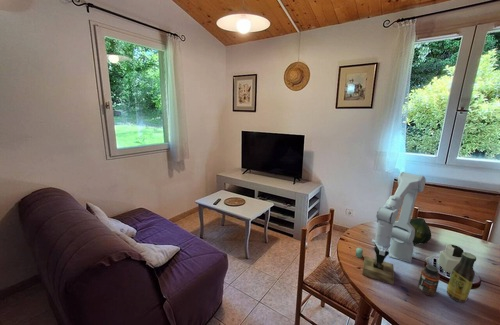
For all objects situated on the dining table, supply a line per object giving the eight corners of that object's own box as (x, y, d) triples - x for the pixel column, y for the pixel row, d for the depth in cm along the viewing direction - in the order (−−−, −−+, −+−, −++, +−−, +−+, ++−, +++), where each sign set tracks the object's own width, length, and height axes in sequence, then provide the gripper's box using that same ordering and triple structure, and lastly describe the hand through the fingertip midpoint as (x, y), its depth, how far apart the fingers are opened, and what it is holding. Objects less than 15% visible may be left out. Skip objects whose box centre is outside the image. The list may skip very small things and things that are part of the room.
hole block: (392, 270, 105) (393, 264, 104) (393, 284, 96) (394, 277, 96) (363, 262, 111) (364, 256, 110) (362, 274, 102) (363, 268, 101)
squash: (392, 231, 129) (417, 218, 120) (397, 222, 140) (419, 210, 132) (412, 253, 124) (439, 242, 116) (414, 242, 135) (439, 231, 127)
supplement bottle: (420, 294, 91) (425, 270, 89) (415, 283, 97) (420, 261, 94) (438, 298, 89) (444, 274, 87) (432, 287, 95) (437, 264, 92)
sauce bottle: (441, 291, 93) (452, 249, 88) (455, 290, 93) (466, 248, 89) (457, 304, 87) (469, 260, 82) (472, 303, 87) (484, 259, 83)
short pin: (362, 255, 116) (363, 248, 115) (361, 258, 113) (362, 251, 112) (356, 253, 117) (356, 246, 116) (355, 256, 115) (356, 250, 114)
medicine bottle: (455, 266, 108) (460, 244, 105) (463, 276, 102) (469, 253, 99) (437, 262, 110) (442, 241, 108) (444, 272, 104) (449, 249, 101)
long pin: (381, 264, 103) (384, 251, 102) (381, 268, 101) (383, 254, 99) (374, 262, 105) (376, 248, 103) (374, 265, 102) (376, 252, 101)
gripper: (373, 224, 107) (370, 249, 110) (373, 239, 95) (368, 266, 98) (391, 228, 104) (386, 254, 107) (392, 244, 91) (387, 272, 94)
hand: (379, 260), depth 102 cm, fingers closed on long pin, 3 cm apart
